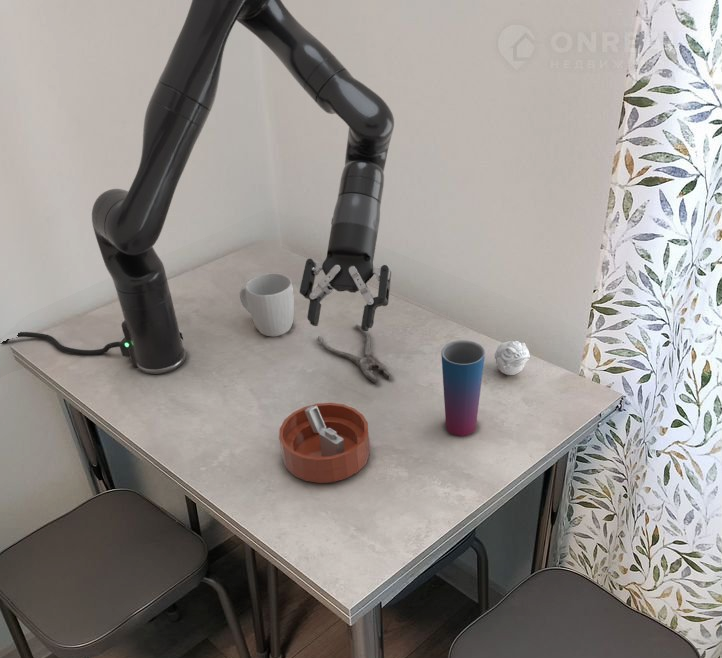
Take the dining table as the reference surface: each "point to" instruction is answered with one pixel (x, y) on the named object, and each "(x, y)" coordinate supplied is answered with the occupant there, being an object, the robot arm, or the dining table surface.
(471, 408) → the cup
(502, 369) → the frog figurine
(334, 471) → the bowl
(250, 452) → the dining table surface
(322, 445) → the lighter
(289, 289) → the mug
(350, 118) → the robot arm
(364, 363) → the pliers
